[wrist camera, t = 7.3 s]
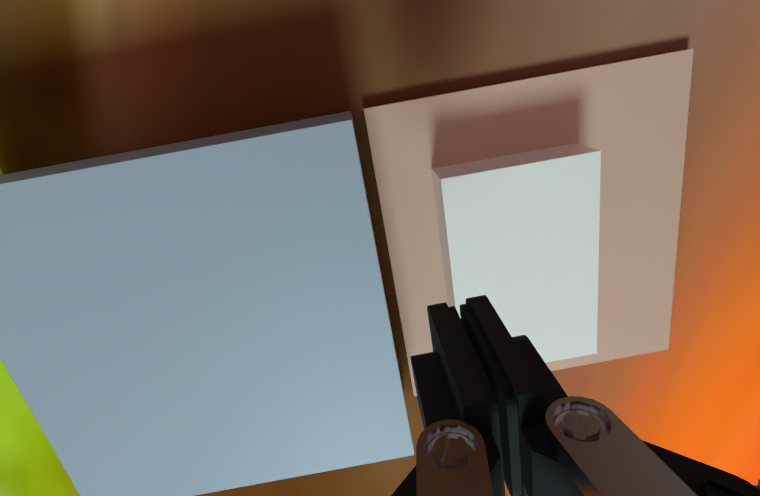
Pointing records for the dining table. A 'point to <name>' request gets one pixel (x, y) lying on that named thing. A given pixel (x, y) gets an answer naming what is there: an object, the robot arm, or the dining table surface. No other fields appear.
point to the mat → (539, 131)
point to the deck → (202, 312)
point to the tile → (526, 243)
